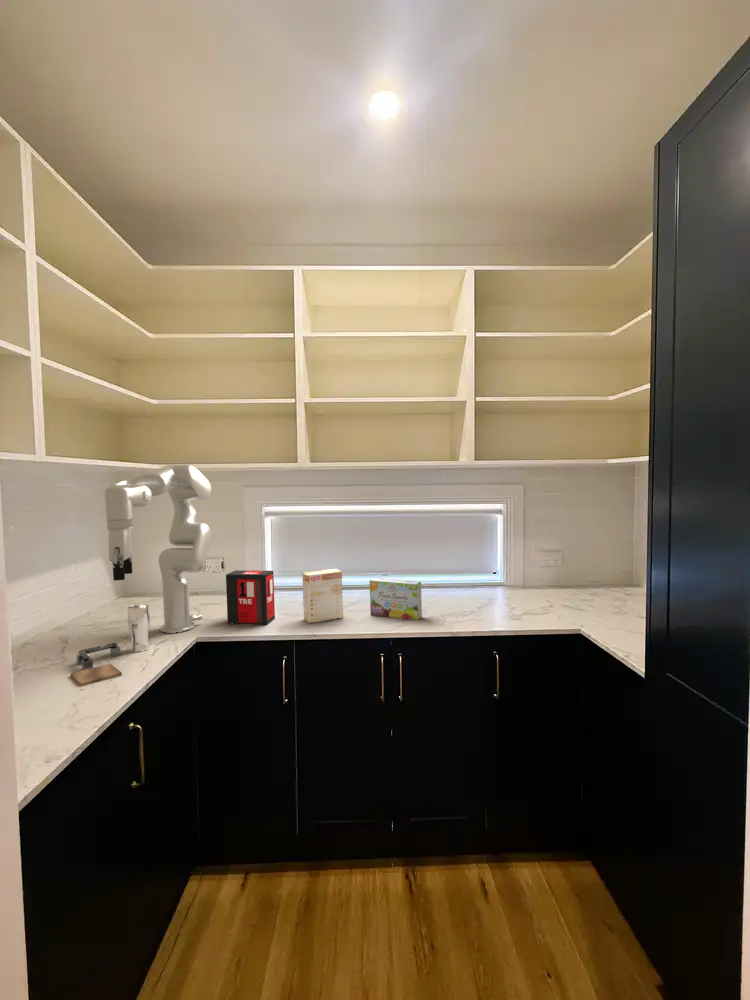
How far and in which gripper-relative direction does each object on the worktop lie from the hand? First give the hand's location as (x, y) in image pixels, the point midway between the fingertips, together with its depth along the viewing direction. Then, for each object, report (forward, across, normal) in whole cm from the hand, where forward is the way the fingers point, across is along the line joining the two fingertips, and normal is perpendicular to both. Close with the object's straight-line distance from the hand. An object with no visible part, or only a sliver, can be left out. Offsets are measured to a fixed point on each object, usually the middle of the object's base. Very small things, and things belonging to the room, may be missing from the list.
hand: (123, 576), depth 167 cm
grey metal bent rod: (+27, +2, -8) cm, 28 cm away
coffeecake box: (+29, -27, +68) cm, 78 cm away
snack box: (+29, -21, +97) cm, 103 cm away
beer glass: (+27, -8, +2) cm, 29 cm away
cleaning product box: (+28, -32, +39) cm, 58 cm away
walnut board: (+27, +14, -6) cm, 31 cm away
